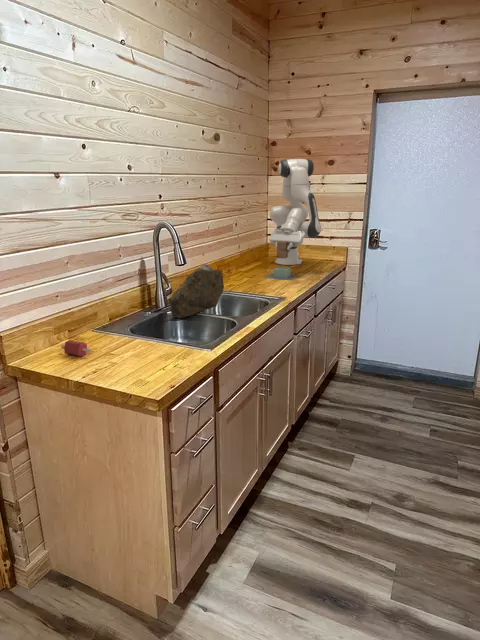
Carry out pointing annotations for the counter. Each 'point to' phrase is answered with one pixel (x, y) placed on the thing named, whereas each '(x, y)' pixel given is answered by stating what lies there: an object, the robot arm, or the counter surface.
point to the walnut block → (282, 250)
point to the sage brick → (282, 272)
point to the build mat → (281, 278)
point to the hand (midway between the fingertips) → (282, 249)
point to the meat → (75, 348)
